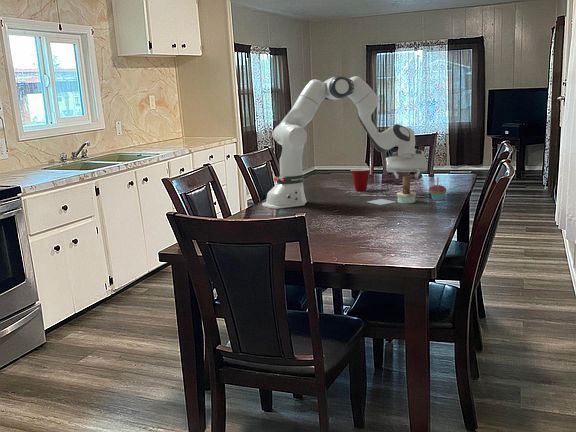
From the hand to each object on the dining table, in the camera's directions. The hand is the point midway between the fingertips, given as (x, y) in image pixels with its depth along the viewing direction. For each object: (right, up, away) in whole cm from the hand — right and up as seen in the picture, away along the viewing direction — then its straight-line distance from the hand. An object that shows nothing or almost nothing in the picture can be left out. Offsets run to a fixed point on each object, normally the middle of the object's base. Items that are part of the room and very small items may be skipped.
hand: (406, 177), depth 284 cm
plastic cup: (-20, -5, +26) cm, 33 cm away
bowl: (-2, -12, -9) cm, 15 cm away
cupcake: (+14, -11, -6) cm, 19 cm away
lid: (-2, -9, -10) cm, 13 cm away
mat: (-14, -13, -7) cm, 20 cm away
